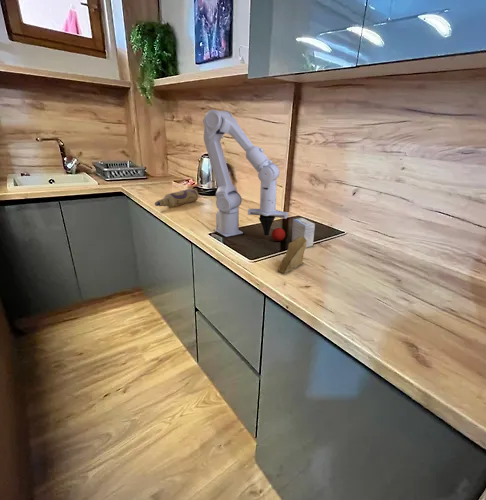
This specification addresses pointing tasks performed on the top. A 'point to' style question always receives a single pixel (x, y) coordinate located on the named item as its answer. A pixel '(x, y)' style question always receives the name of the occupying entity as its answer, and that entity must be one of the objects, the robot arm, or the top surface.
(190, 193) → the decorative bottle
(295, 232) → the medicine box
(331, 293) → the top surface
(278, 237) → the ball
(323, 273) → the top surface
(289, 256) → the rock
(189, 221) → the top surface
